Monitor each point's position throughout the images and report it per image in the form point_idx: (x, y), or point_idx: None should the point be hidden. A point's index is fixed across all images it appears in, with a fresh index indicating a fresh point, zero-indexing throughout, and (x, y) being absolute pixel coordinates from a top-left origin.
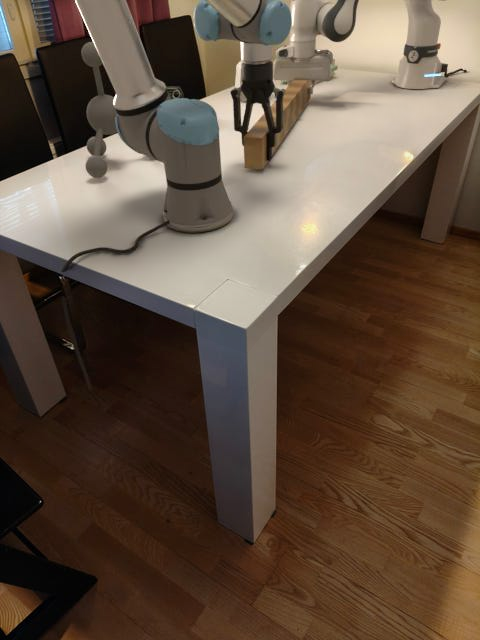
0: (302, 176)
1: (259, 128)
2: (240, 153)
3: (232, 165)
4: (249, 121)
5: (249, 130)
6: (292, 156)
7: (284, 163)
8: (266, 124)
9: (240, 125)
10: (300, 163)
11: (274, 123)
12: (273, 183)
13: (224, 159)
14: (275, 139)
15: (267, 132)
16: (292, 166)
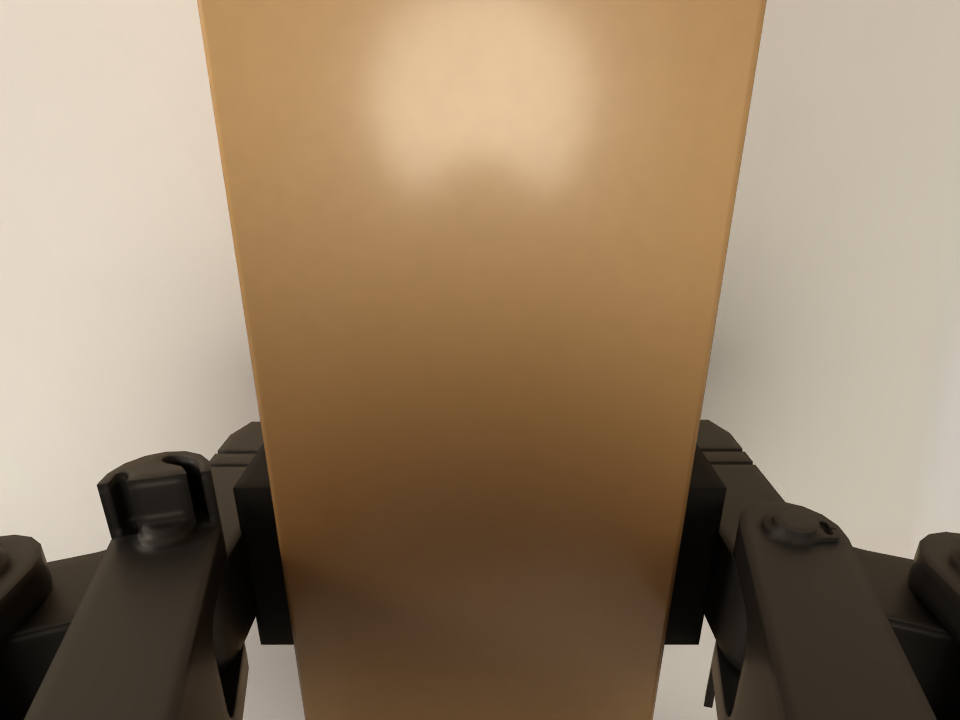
0: (901, 533)
1: (461, 485)
2: (128, 6)
3: (221, 397)
4: (187, 672)
5: (292, 613)
6: (822, 17)
7: (733, 268)
8: (561, 150)
9: (30, 657)
10: (907, 243)
11: (897, 649)
12: (674, 668)
13: (51, 250)
14: (755, 478)
15: (663, 610)
16: (819, 336)
